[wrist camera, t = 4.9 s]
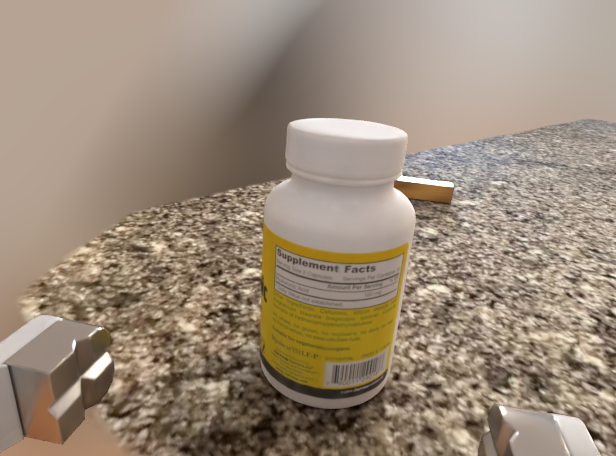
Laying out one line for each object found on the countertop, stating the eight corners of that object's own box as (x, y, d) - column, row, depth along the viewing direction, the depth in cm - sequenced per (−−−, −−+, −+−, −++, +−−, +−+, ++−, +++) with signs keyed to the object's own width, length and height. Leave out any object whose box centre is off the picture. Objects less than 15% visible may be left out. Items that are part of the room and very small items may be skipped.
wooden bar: (343, 189, 41) (345, 173, 41) (345, 185, 43) (346, 169, 42) (450, 203, 40) (454, 187, 39) (448, 198, 41) (452, 182, 41)
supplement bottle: (293, 313, 21) (309, 110, 18) (402, 350, 19) (445, 128, 16) (231, 381, 17) (234, 124, 13) (364, 438, 15) (413, 154, 11)
